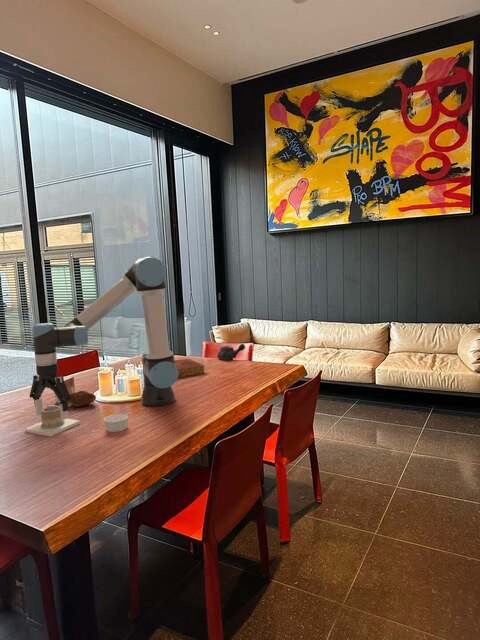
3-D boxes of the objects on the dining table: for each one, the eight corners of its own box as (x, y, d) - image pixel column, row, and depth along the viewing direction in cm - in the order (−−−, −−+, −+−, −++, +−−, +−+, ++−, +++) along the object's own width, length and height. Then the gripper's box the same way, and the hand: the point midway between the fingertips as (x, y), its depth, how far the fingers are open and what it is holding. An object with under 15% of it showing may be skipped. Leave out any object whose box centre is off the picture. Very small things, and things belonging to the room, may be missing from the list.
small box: (66, 403, 198) (64, 380, 197) (55, 402, 199) (53, 380, 198) (76, 397, 206) (74, 376, 205) (65, 397, 207) (63, 376, 206)
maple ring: (66, 421, 169) (65, 406, 168) (51, 428, 162) (50, 412, 162) (53, 419, 172) (52, 405, 171) (38, 425, 165) (37, 410, 165)
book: (188, 366, 264) (188, 358, 263) (205, 374, 243) (204, 365, 243) (141, 373, 250) (140, 365, 249) (154, 382, 229) (153, 373, 228)
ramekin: (109, 424, 168) (108, 414, 168) (131, 424, 168) (130, 413, 167) (101, 433, 159) (100, 422, 159) (124, 433, 159) (123, 421, 158)
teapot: (214, 361, 271) (214, 346, 270) (219, 356, 286) (218, 341, 285) (244, 361, 268) (243, 345, 267) (247, 356, 284) (246, 341, 282)
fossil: (101, 396, 195) (86, 380, 191) (92, 409, 188) (77, 394, 184) (82, 403, 200) (68, 388, 196) (73, 416, 194) (58, 401, 190)
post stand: (80, 423, 170) (78, 402, 169) (50, 436, 158) (48, 413, 157) (55, 419, 177) (53, 398, 176) (25, 431, 164) (22, 409, 163)
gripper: (78, 363, 162) (83, 417, 165) (32, 359, 173) (38, 410, 176) (62, 368, 155) (67, 424, 158) (16, 363, 166) (21, 416, 169)
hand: (52, 417), depth 167 cm, fingers open, 13 cm apart
